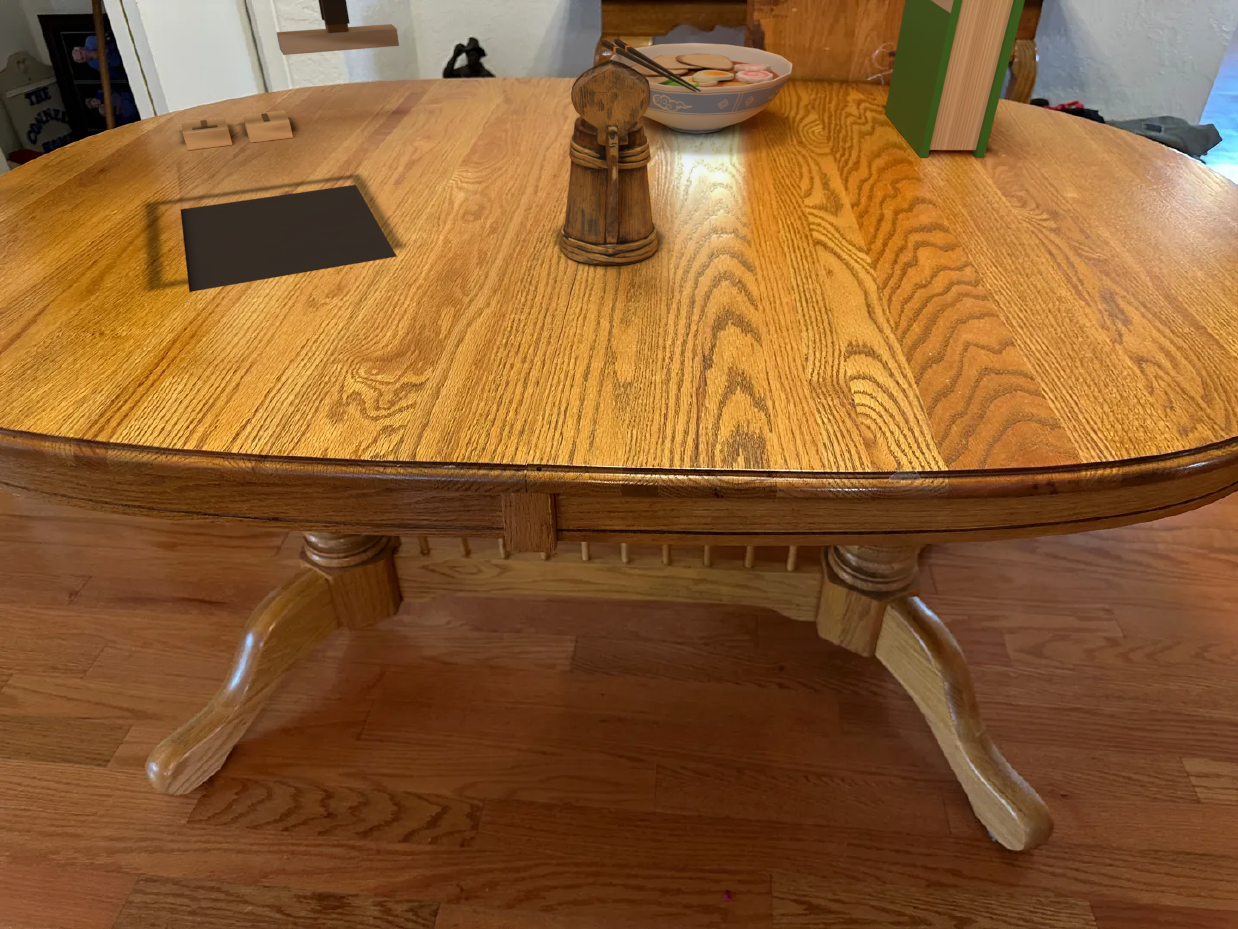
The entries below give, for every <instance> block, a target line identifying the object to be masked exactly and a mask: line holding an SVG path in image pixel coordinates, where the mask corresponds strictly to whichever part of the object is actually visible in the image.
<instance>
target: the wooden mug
mask: <svg viewBox="0 0 1238 929" xmlns="http://www.w3.org/2000/svg"><path fill="white" fill-rule="evenodd" d="M609 59H610V58H609ZM609 59H608V60H605V61H603V62H601V63H598V64H597V65H595V66H593V67H591V68H588V69H587V70H585V71H584V72H582V73H581V74H580V76H578V77H577V78H576V79H575V81H574V83H573V84H572V87H571V93H570V99H571V103H572V106H573V108H574V110H575V112H576V114H578V115H579V116H578V117H577V118H576V119H575V120H574V126H573V134H571V136H570V141H569V151H568V156H569V159H570V169H569V179H568V180H569V181H568V190H567V197H566V208H565V216H564V217H565V218H564V223H563V224H562V227H561V230H560V241H559V242H560V243H559V245H560V251H562V253H563V254H564V255H565V256H567V258H569V259H571V260H573V261H577V262H578V263H581V264H585V265H591V266H601V267H609V266H617V267H620V266H627V265H632V264H635V263H639V262H641V261H642V262H643V261H644V260H645V261H646V260H647V259H649V258H651V256H652V255H653V254H654V253H655V252H656V251H657V250H658V236H657V227H656V225H655V223H654V220H653V213H652V212H653V211H652V203H651V195H650V194H651V193H650V185H649V184H650V183H649V175H648V174H649V172H648V164H649V163H650V162H651V160H652V156H651V155H652V154H651V148H650V147H651V146H650V141H649V139H648V137H647V135H646V132H645V127H644V120H643V119H642V118H641V117H642V116H643V114H644V113H645V112H646V110H647V109H648V107H649V103H650V86H649V81H648V80H647V79H646V78H645V77H644V76H643V75H642V74H641V73H639V72H638V71H636V70H635V69H633V68H631V67H630V66H628V65H626V64H624V63H621V62H618V61H615V60H611V59H610V60H609Z"/></svg>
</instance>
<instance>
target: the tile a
mask: <svg viewBox="0 0 1238 929" xmlns="http://www.w3.org/2000/svg"><path fill="white" fill-rule="evenodd" d="M180 124H181V131H182V136H183V139H184V142H185V146H186V149H187V151H193V150H202V149H211V148H218V147H227V146H233V141H232V137H231V134H230V133H231V132H230V130H229V126H228V122H227V119H226V117H225V116H221V117H211V118H204V119H203V118H202V119H194V120H184V121H181V123H180Z"/></svg>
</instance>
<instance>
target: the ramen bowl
mask: <svg viewBox="0 0 1238 929" xmlns="http://www.w3.org/2000/svg"><path fill="white" fill-rule="evenodd" d="M600 44H601V45H600V46H601V47H603V48H606V49H608V50H609V51H612V52H614V53H615V54H613V55H612V56H611V57H610V58H609V59H608V60H610V59H611V60H615V61H618V62H621V63H624V64H626V65H628V66H630V67H631V68H633V69H635V70H636V71H638V72H639V73H641V74H642V75H643V76H644V77H645V78H646V79H647V80H648V81H649V86H650V103H649V107H648V109H647V110H646V112H645V113H644V114H643V115H642V116H643V117H646V118H648V119H650V120H653V121H655V122H658V123H660V124H662V125H665V126H666V127H667V128H669V129H671V130H674V131H675V132H680V133H685V134H694V135H695V134H696V135H699V134H700V135H701V134H710V133H717V132H719V131H721V130H723V129H725V128H727V127H728V126H733V125H736V124H738V123H742V122H744V121H746V120H748V119H750V118H753V117H754V116H756V115H757V114H759V113H760V112H762V111H763V110H765V109H766V108H767V107H768V106H769V105H770V104H771V103H772V102H773V101H774V100H775V99H776V97H777V96H778V95H779V93H780V92H781V91H782V89H783V88H784V86H785V85H786V84H787V81H788V80H789V77H790V76H791V74H792V70H793V64H794V63H793V62H791V61H789V60H788V59H786V58H785V57H783V56H782V55H780V54H777V53H773V52H769V51H766V50H763V49H760V48H754V47H748V46H747V47H746V46H740V45H734V44H733V45H732V44H723V43H703V42H702V43H701V42H688V43H687V42H685V43H661V44H654V45H648V46H641V47H633V46H630V45H629V44H628V43H626V42H624V41H623V40H621V39H620V38H614V39H613V43H612V42H610V41H608V40H606V39H602V40H601V41H600Z"/></svg>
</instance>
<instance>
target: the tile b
mask: <svg viewBox="0 0 1238 929" xmlns="http://www.w3.org/2000/svg"><path fill="white" fill-rule="evenodd" d="M242 119H243V124H244V128H245V131H246V135H247V137H248V140H249V143H250V144H251V143H260V142H268V141H269V142H270V141H276V140H285V139H293V138H294V135H293V132H292V126H291V121H290V119H289V117H288V115H287V113H286V111H285V110H283V109H282V110H275V111H266V112H265V111H264V112H257V113H246V114H242Z"/></svg>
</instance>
